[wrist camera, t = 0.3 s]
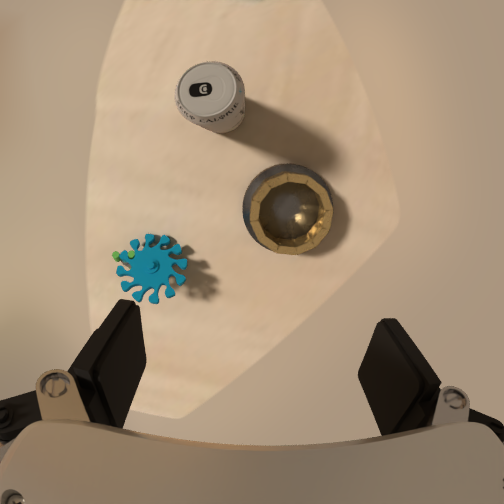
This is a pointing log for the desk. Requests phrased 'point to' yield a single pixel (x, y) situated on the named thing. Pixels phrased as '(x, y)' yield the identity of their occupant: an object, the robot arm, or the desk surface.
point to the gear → (150, 267)
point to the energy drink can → (211, 96)
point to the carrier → (288, 209)
